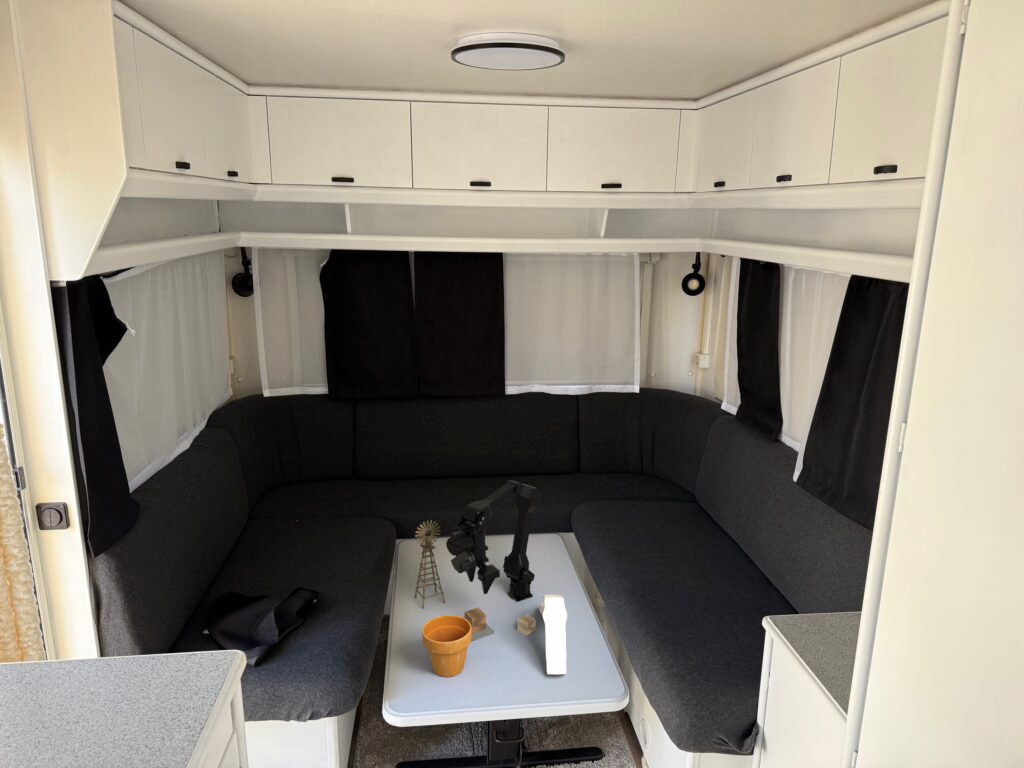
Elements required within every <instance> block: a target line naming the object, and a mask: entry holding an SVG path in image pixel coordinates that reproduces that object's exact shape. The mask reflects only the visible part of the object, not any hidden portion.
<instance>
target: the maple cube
mask: <svg viewBox="0 0 1024 768" xmlns="http://www.w3.org/2000/svg"><path fill="white" fill-rule="evenodd" d="M535 631H536V619H535V618H533V617H532V616H530V615H528V614H524V615H523V616H521V617H519V618H518V619H517V632H519V633H521V634H522V635H525V636H526V637H527V636H529V635H530V634H532V633H534V632H535Z"/></svg>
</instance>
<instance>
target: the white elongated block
mask: <svg viewBox="0 0 1024 768" xmlns="http://www.w3.org/2000/svg"><path fill="white" fill-rule="evenodd" d="M542 599H543V603H539V604H538V610H539V612H540V615H541V617H542V618H543V622H544V639H545V642H544V644H545V649H544V650H545V663H546V666H545V667H546V674H547V675H566V674H567V645H566V643H567V640H566V637H567V636H566V622H567V619H568V613H567V610H566V607H565V600H564V597H562V595H560V594H543V595H542Z"/></svg>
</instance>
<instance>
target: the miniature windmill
mask: <svg viewBox="0 0 1024 768" xmlns="http://www.w3.org/2000/svg"><path fill="white" fill-rule="evenodd" d="M429 522H430V523H429ZM440 528H441V526H440V525H439V523H438V522H437V523H436V521H433V520H432V519H431V520H430V521H429V520H426V522H425V521H423V522H422V524H421V523H420V524H419V527H417V529H416V530H415V535H414V537H415V540H416V541H417V544H420V545H419V546H420V547H421V548H422V551H421V559H420V563H419V570H418V574H417V581H416V587H415V591H414V592H415V593H414V599H417V597H418V594H419V595H420V598H421V599H422V608H421V609H422V610H424V609H425V599H428V598H432V597H436V596H439V595H441V597H442V601H443V604H445V603H446V599H445V597H444V594H445V592H443V588H442V584H441V579H440V578H441V577H440V576H439V572H438V569H437V567H438V565H437V563H436V560H435V554H434V552H433V550H434V549H436V546H435V545H434V543H436V542H437V540H438V539H440V537H439V536H441V533H438V532H442V530H441V529H440ZM429 534H430V535H429ZM436 539H437V540H436ZM427 553H429V554H427ZM427 558H429V559H430V561H428V562H427ZM423 561H424V562H423ZM429 564H430V565H431V566H429V567H427V566H426V565H429ZM434 569H435V570H434ZM427 570H431V571H430V572H427V573H426V571H427ZM422 571H423V574H422ZM431 574H432V577H429V578H426V576H427V575H431ZM422 577H423V578H422ZM436 577H437V578H436ZM436 581H437V582H438V584H439V585H438V584H437V582H436ZM421 582H422V583H423V585H422V586H419V585H420V583H421ZM430 582H432V583H430ZM426 583H430V584H426ZM432 585H434V592H435V593H434V594H431V595H428V596H425V594H426V593H425V592H426V587H429V586H432ZM437 588H438V589H437ZM419 589H422V593H420V591H419ZM438 590H440V592H438Z"/></svg>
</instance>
